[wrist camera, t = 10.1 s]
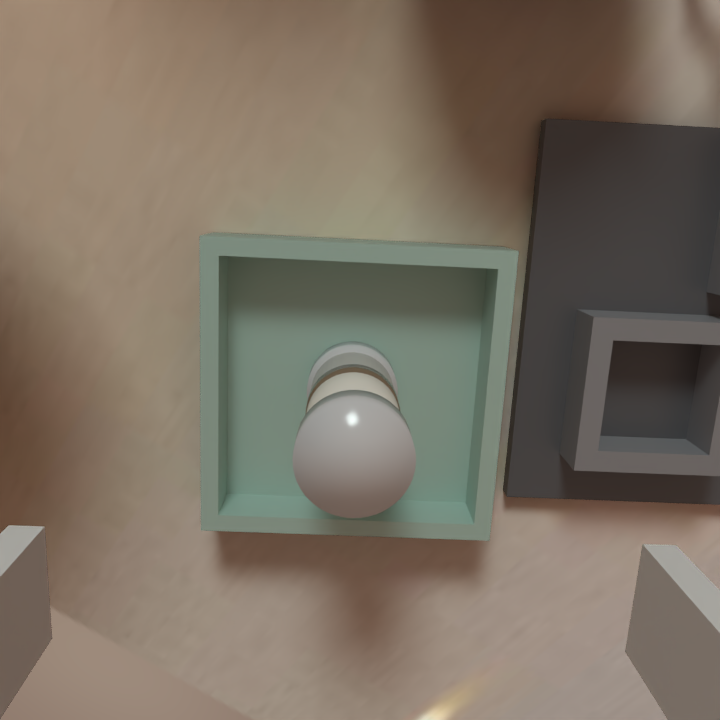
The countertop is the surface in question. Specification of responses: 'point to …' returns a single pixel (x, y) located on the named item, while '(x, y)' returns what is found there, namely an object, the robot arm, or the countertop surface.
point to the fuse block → (620, 318)
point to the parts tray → (342, 324)
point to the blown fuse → (353, 434)
